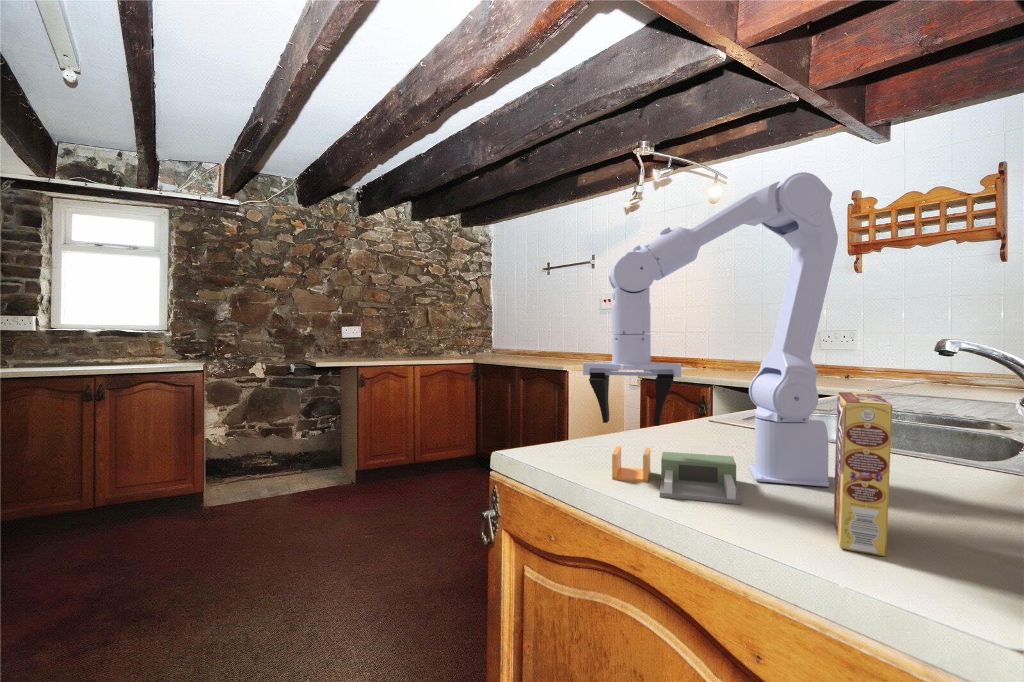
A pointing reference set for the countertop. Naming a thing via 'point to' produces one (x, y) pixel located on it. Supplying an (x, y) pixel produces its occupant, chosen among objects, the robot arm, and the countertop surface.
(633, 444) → the countertop surface
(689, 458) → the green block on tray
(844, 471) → the candy box
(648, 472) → the chute
